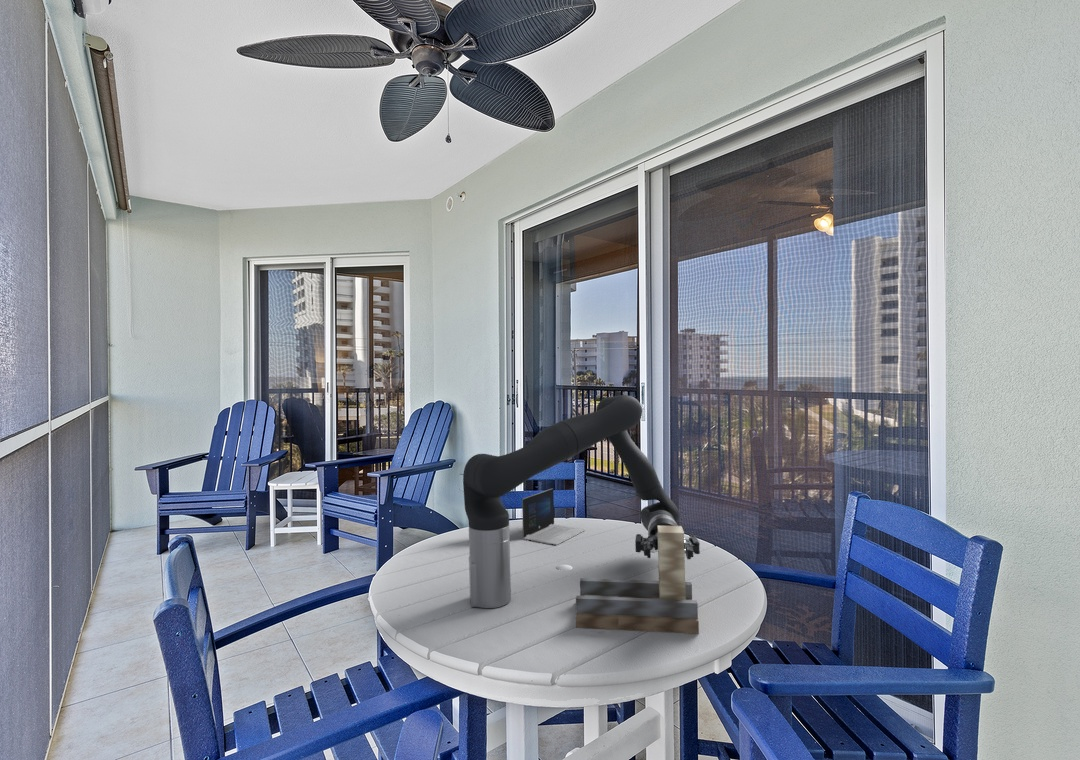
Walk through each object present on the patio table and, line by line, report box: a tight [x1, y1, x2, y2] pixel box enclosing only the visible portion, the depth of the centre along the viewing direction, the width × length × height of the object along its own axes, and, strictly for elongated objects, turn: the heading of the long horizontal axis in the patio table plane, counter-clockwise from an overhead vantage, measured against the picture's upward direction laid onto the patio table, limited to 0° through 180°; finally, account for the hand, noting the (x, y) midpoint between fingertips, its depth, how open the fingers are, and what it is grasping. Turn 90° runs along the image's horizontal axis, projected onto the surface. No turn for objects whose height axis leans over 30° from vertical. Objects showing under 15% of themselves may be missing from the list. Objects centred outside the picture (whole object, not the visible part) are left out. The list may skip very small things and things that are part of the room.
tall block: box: [657, 525, 686, 600], centre depth 113 cm, size 5×5×16 cm
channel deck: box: [575, 577, 700, 635], centre depth 114 cm, size 24×13×6 cm, turn 81°
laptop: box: [521, 488, 586, 546], centre depth 173 cm, size 18×12×13 cm
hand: (669, 554), depth 118 cm, fingers open, 8 cm apart
